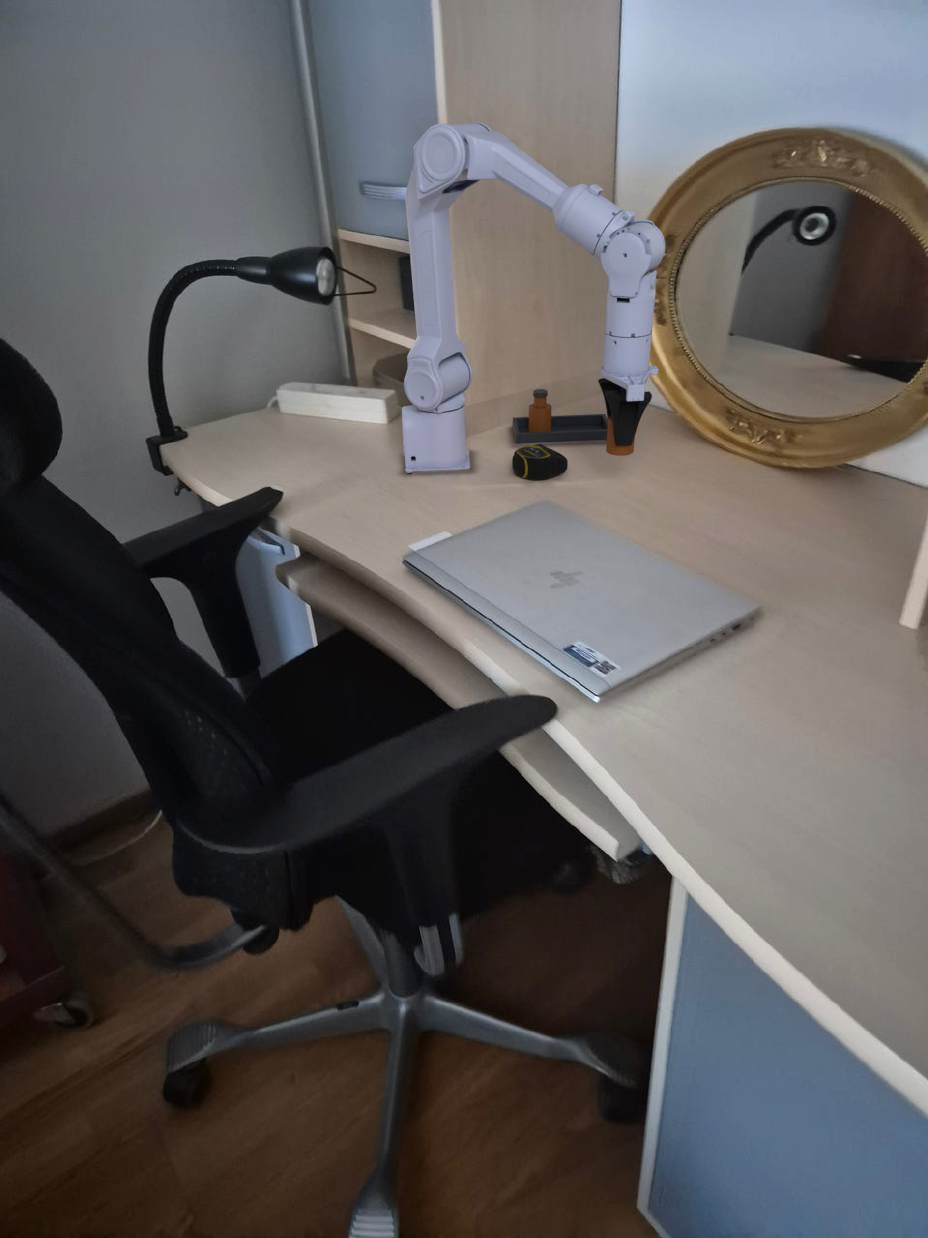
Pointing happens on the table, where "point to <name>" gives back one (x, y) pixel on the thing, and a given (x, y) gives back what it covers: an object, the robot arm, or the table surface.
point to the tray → (563, 429)
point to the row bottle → (540, 412)
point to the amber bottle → (611, 446)
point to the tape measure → (538, 462)
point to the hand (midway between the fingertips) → (620, 439)
